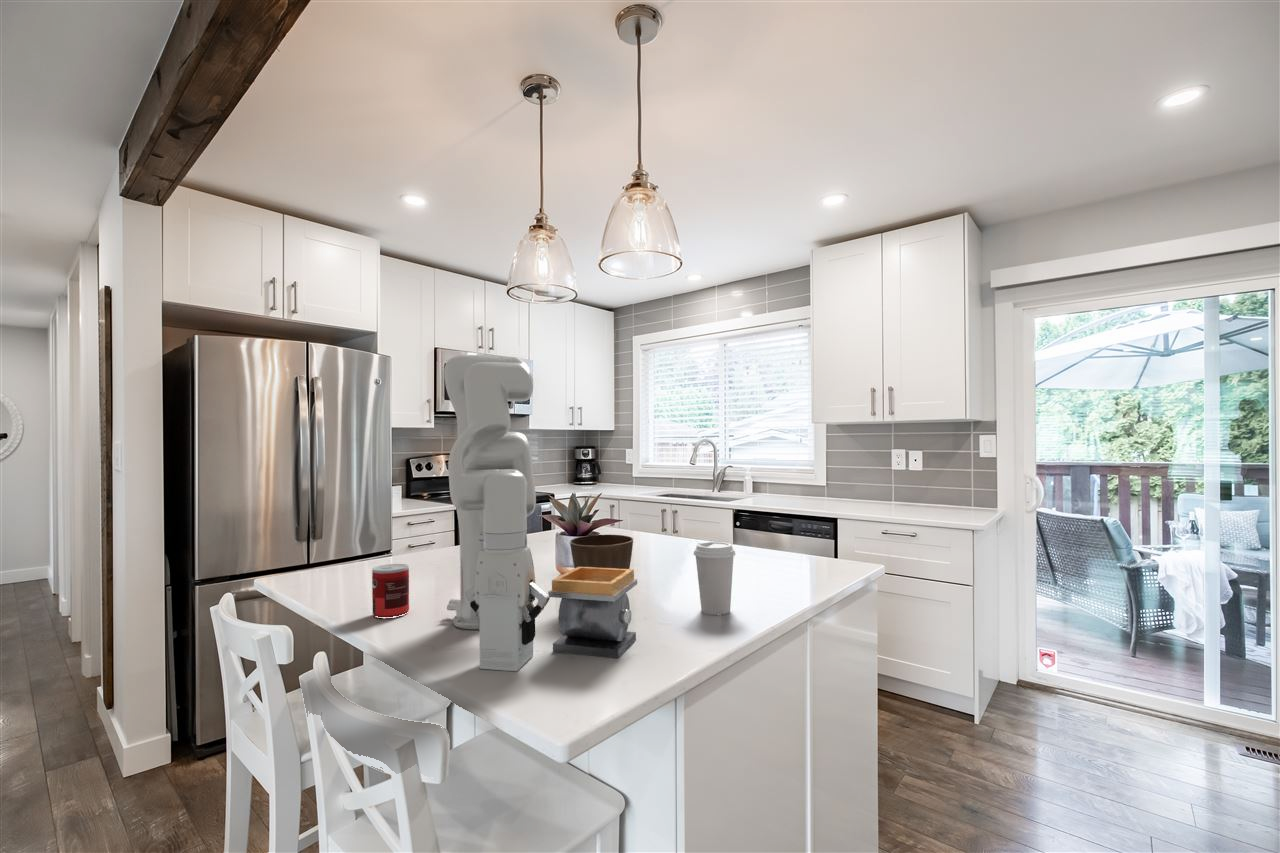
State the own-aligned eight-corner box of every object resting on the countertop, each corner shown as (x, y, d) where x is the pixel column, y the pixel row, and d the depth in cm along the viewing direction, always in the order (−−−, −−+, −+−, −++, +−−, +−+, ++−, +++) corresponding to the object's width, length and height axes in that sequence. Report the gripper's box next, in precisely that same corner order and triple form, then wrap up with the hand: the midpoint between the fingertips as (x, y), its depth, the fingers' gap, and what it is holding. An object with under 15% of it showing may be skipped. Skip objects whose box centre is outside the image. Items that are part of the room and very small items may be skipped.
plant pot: (623, 619, 127) (622, 546, 127) (560, 615, 131) (559, 544, 131) (642, 601, 141) (640, 535, 142) (584, 597, 145) (583, 533, 146)
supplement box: (518, 672, 99) (517, 597, 99) (478, 669, 100) (477, 596, 100) (534, 656, 106) (533, 586, 106) (497, 654, 107) (496, 585, 108)
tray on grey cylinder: (549, 654, 106) (548, 580, 107) (578, 632, 119) (577, 565, 119) (618, 661, 102) (616, 584, 103) (640, 637, 115) (639, 569, 115)
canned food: (384, 609, 138) (384, 563, 139) (415, 610, 137) (415, 563, 138) (365, 619, 131) (364, 570, 131) (398, 620, 130) (397, 570, 130)
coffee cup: (713, 602, 138) (711, 539, 139) (745, 610, 131) (743, 544, 132) (686, 611, 132) (684, 545, 132) (718, 620, 125) (716, 550, 125)
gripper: (451, 543, 103) (452, 643, 102) (539, 546, 97) (540, 652, 97) (475, 536, 110) (477, 629, 109) (559, 539, 104) (560, 637, 104)
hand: (507, 639), depth 103 cm, fingers closed on supplement box, 7 cm apart
